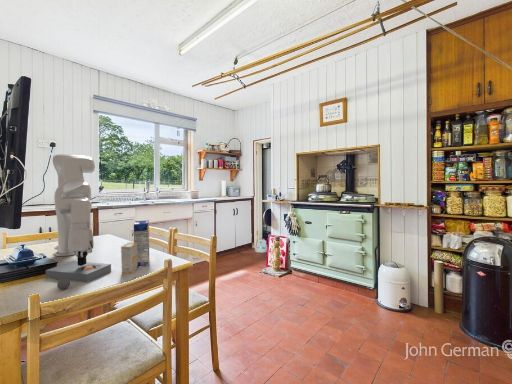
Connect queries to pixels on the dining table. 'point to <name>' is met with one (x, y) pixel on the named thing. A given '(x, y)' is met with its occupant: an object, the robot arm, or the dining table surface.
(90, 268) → the ball
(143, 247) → the beverage box
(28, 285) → the dining table surface
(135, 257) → the supplement box
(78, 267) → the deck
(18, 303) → the dining table surface
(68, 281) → the ball
